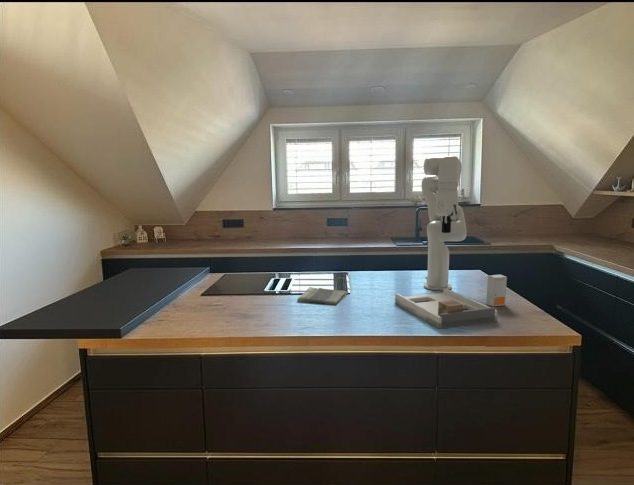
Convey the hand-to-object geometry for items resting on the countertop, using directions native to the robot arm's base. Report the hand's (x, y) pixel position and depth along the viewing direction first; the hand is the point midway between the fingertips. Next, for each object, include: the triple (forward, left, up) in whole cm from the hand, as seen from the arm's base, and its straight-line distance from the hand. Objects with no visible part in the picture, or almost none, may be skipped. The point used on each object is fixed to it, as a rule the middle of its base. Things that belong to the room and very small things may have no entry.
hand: (446, 232), depth 169 cm
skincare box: (+11, +17, -29) cm, 36 cm away
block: (+22, -12, -27) cm, 37 cm away
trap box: (+11, -8, -29) cm, 32 cm away
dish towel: (-22, -46, -30) cm, 59 cm away
